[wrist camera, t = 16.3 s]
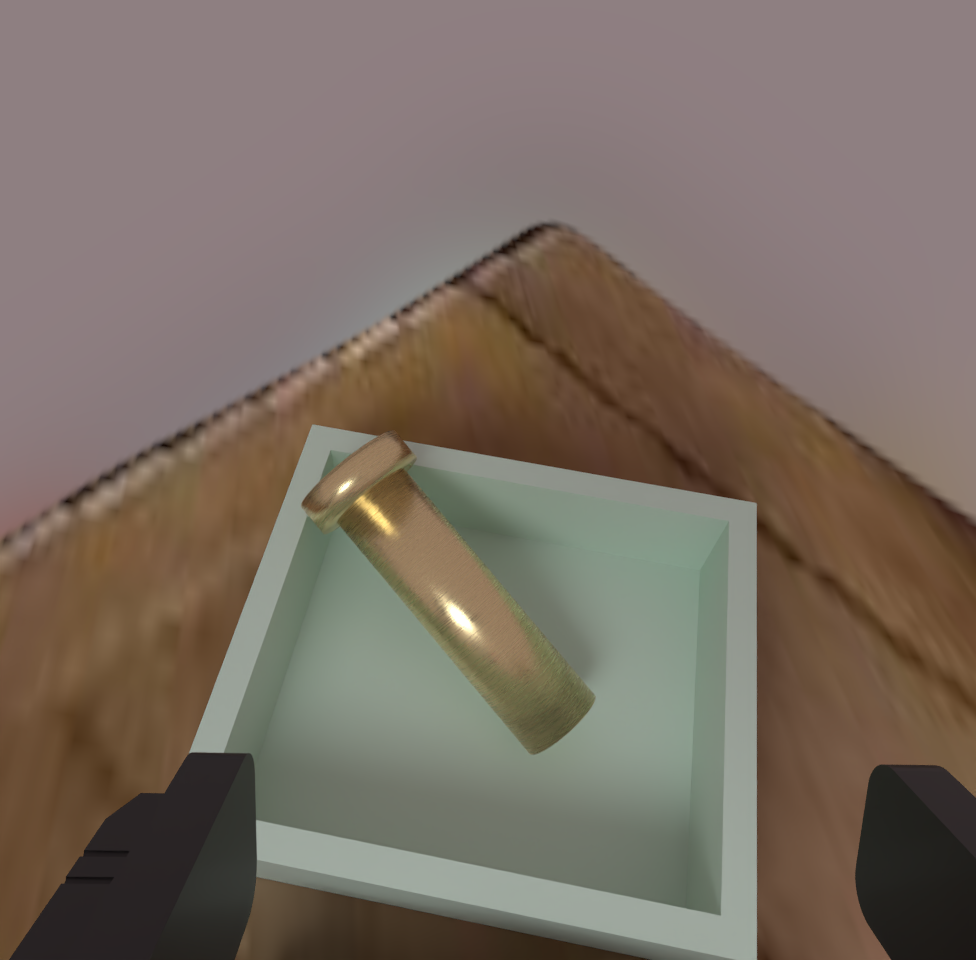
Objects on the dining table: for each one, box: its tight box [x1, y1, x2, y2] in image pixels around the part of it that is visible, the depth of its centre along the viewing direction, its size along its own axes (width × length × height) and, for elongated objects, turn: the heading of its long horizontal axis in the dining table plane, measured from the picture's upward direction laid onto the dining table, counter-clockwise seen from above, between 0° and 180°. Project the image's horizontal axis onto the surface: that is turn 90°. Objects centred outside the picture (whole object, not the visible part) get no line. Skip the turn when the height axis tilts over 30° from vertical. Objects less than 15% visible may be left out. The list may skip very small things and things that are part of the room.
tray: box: [189, 425, 757, 960], centre depth 29 cm, size 17×15×5 cm
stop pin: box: [301, 430, 596, 755], centre depth 28 cm, size 4×4×12 cm
